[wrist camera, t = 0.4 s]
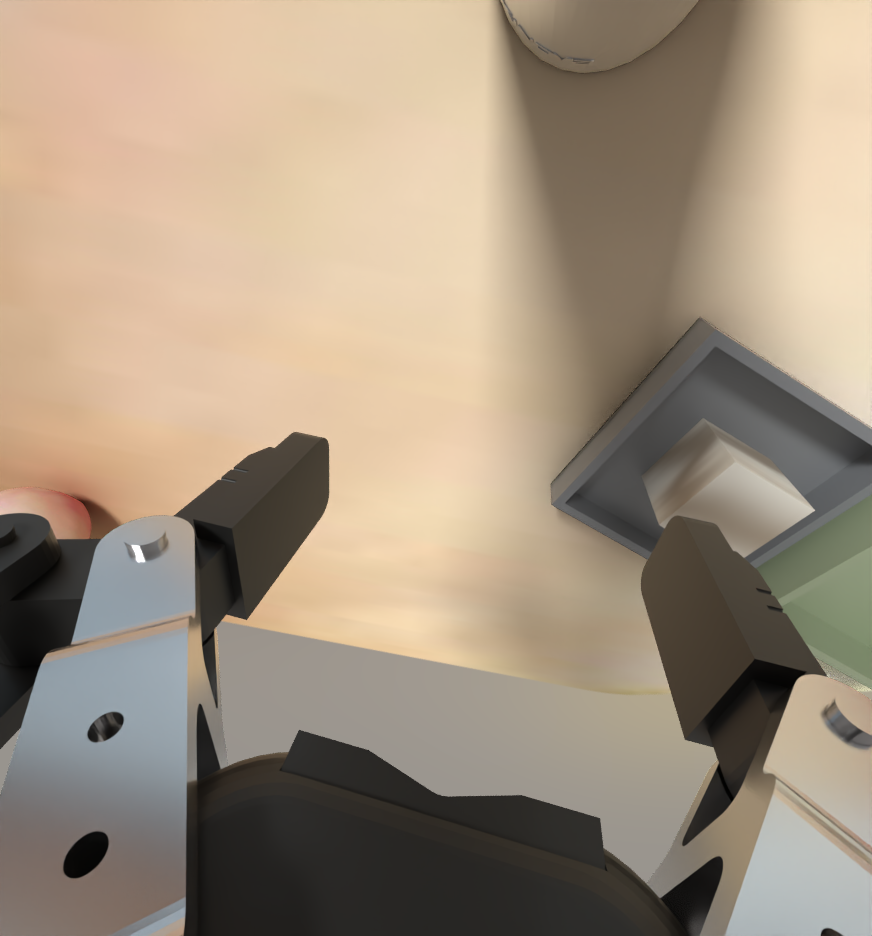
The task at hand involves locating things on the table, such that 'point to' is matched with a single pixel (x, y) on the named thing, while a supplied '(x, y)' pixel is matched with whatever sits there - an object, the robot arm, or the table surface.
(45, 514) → the decorative fruit
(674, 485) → the white block
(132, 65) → the table surface
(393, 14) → the table surface
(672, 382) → the charcoal tray
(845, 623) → the olive bin
